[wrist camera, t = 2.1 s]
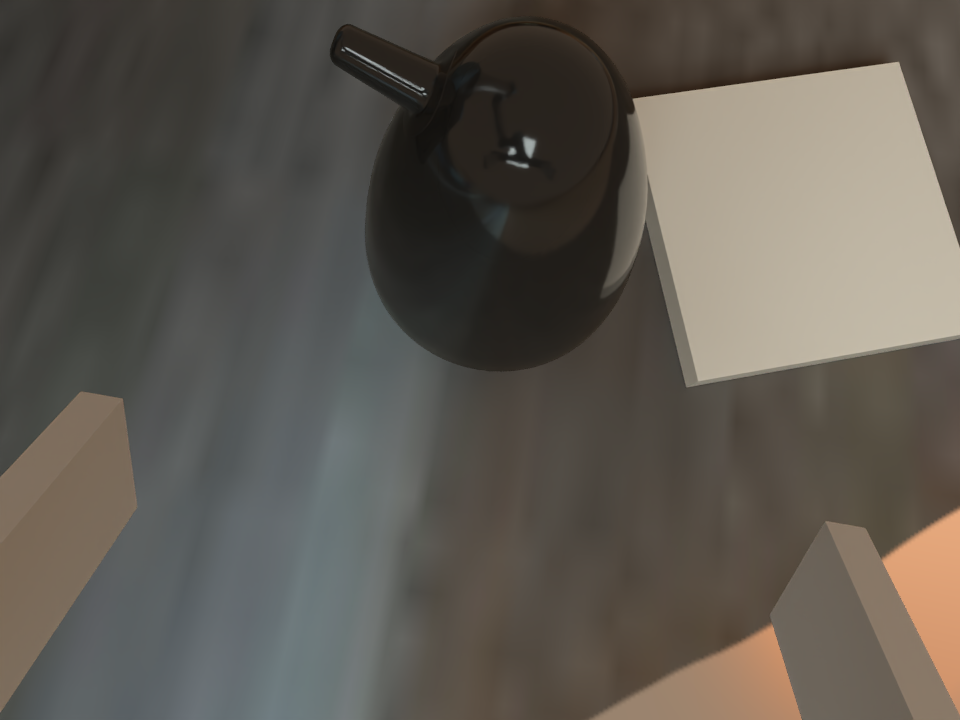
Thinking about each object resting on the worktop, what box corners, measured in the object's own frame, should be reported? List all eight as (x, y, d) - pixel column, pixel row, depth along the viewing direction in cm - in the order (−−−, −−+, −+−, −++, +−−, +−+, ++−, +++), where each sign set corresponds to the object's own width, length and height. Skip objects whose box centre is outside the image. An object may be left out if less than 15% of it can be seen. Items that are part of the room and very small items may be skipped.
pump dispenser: (409, 139, 33) (387, -162, 18) (628, 202, 33) (784, -48, 18) (339, 348, 31) (250, 198, 16) (573, 416, 31) (699, 329, 16)
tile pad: (620, 117, 34) (628, 99, 33) (879, 80, 35) (898, 61, 34) (686, 387, 32) (698, 381, 30) (961, 338, 33) (986, 330, 31)
